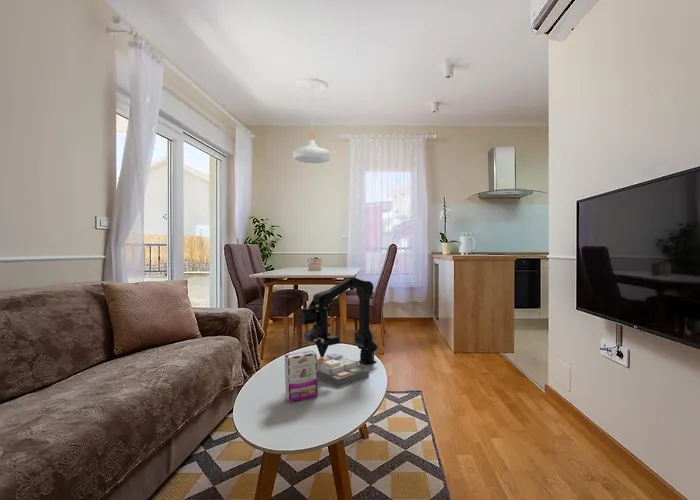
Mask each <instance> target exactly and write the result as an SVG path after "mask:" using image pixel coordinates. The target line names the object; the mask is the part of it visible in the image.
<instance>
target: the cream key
mask: <svg viewBox="0 0 700 500" xmlns="http://www.w3.org/2000/svg"><path fill="white" fill-rule="evenodd" d="M340 365H341V362H339V361H336V360H334V359H332V360H328V361H325V362H324V366H327V367H330V368H333V367H336V366H340Z"/></svg>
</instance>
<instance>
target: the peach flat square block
mask: <svg viewBox="0 0 700 500" xmlns="http://www.w3.org/2000/svg"><path fill="white" fill-rule="evenodd" d="M328 360H330V358H328V357H327V356H325V355H324V357H320V356H317V363H319V364H323V363H324V362H325V361H328Z"/></svg>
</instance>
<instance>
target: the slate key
mask: <svg viewBox="0 0 700 500" xmlns="http://www.w3.org/2000/svg"><path fill="white" fill-rule="evenodd" d="M326 357H328V358H330V360H332V359H334V360H338V359H342V358H343V357H344V356H343V354H340V353H337V352H334V353H333V352H332V353H329V354H326Z"/></svg>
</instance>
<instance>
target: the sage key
mask: <svg viewBox="0 0 700 500" xmlns="http://www.w3.org/2000/svg"><path fill="white" fill-rule="evenodd" d="M339 362H341V363H342V364H347V363H351V362H353V361H350V360H347V359H344V360H340V361H339Z"/></svg>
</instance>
